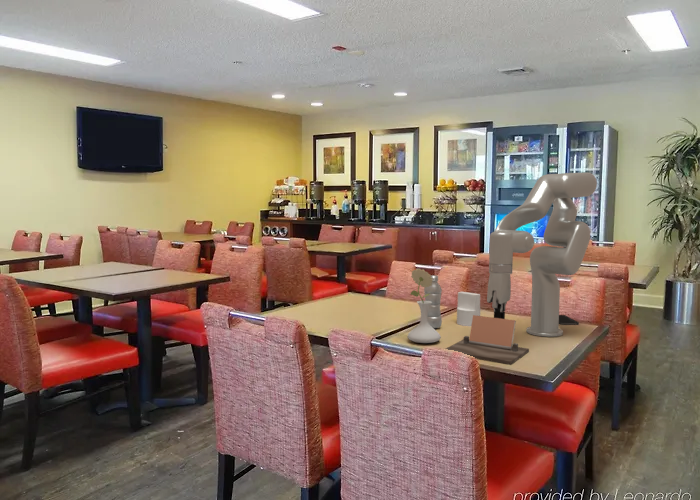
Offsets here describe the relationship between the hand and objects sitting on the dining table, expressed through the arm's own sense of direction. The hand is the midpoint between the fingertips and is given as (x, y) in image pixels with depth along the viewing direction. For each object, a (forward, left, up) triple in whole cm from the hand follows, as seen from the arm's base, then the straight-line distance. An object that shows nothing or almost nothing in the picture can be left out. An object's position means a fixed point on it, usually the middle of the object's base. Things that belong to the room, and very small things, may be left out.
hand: (499, 323), depth 186 cm
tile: (+6, 0, -2) cm, 6 cm away
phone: (-50, +8, -8) cm, 51 cm away
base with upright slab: (-24, -21, -8) cm, 33 cm away
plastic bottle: (-9, -29, -8) cm, 31 cm away
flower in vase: (+10, -23, -8) cm, 26 cm away
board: (+12, 0, -7) cm, 14 cm away
